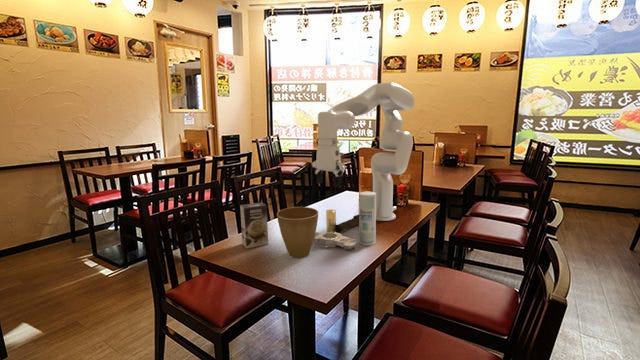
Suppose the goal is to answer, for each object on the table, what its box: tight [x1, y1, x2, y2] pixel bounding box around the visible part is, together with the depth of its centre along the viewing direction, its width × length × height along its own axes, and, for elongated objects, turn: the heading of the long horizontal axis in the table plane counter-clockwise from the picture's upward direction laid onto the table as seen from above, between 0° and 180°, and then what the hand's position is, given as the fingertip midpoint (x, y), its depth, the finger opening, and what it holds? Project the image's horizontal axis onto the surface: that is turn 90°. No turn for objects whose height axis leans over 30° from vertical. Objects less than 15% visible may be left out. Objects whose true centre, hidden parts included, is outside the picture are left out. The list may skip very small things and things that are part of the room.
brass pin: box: [325, 209, 337, 232], centre depth 150 cm, size 4×4×10 cm
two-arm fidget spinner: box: [313, 231, 357, 251], centre depth 140 cm, size 9×24×3 cm, turn 47°
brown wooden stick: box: [336, 213, 359, 234], centre depth 157 cm, size 19×4×5 cm, turn 136°
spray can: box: [358, 190, 377, 246], centre depth 137 cm, size 6×6×20 cm
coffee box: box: [239, 202, 269, 249], centre depth 139 cm, size 9×6×16 cm
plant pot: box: [276, 206, 319, 259], centre depth 128 cm, size 15×15×16 cm
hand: (328, 184), depth 145 cm, fingers open, 9 cm apart
